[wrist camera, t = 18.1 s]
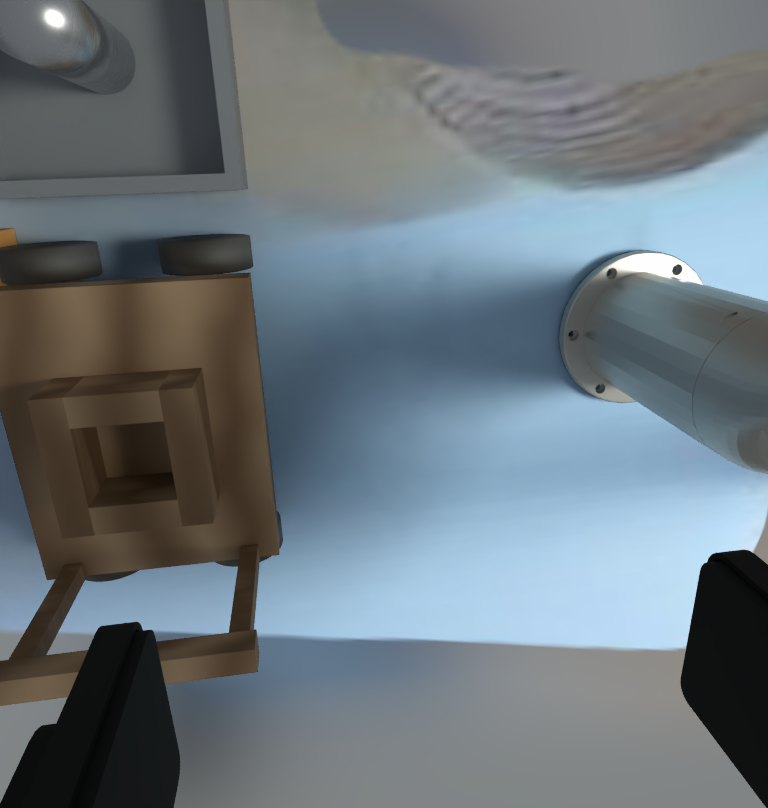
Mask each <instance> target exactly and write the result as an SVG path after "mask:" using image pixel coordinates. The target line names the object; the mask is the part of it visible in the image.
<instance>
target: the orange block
mask: <svg viewBox="0 0 768 808" xmlns="http://www.w3.org/2000/svg"><path fill="white" fill-rule="evenodd" d="M13 245H17V241H16V236H15V232H14V228H12V229H0V248H1V247H6V246H13ZM0 286H13V285H12V284H4V283H2V282H1V279H0Z"/></svg>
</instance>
